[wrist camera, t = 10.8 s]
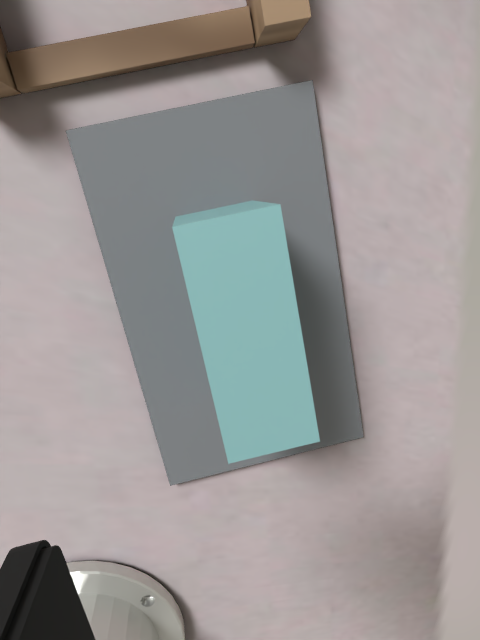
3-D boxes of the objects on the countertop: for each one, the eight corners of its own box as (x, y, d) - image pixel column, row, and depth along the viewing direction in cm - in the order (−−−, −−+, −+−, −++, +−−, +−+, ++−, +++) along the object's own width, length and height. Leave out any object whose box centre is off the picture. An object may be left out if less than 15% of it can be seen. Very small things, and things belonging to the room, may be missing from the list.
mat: (360, 432, 28) (363, 437, 28) (170, 479, 28) (170, 485, 27) (309, 82, 23) (312, 80, 22) (68, 132, 22) (65, 130, 21)
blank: (252, 200, 23) (280, 204, 17) (285, 377, 26) (320, 441, 19) (175, 216, 23) (172, 227, 16) (217, 393, 26) (228, 463, 19)
